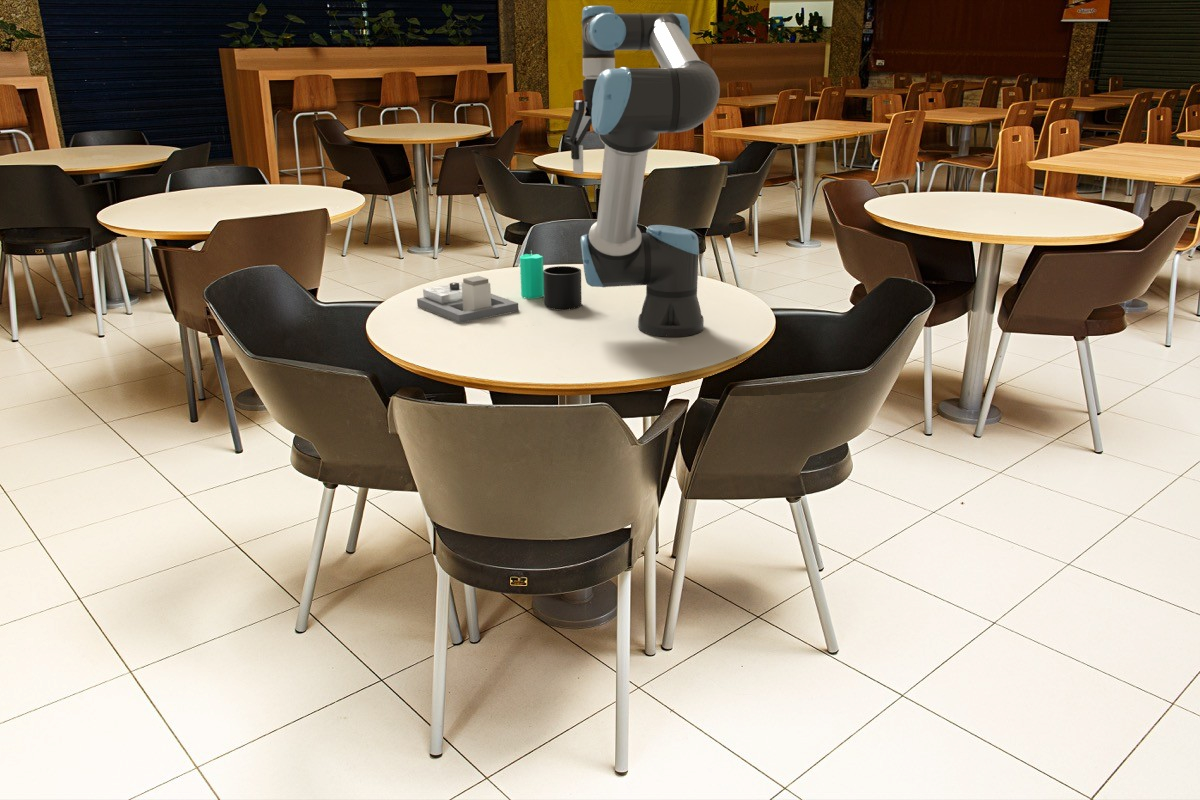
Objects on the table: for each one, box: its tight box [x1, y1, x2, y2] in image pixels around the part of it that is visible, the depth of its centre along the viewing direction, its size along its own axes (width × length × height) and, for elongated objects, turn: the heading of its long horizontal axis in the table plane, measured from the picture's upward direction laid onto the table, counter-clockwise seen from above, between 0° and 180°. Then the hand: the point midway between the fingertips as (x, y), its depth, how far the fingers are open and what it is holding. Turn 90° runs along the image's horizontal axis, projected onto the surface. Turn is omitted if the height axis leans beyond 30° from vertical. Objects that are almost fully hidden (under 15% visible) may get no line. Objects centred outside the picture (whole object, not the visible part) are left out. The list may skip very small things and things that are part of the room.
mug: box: [543, 265, 583, 311], centre depth 234 cm, size 9×12×9 cm
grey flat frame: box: [416, 293, 520, 324], centre depth 231 cm, size 20×17×2 cm
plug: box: [461, 275, 492, 312], centre depth 227 cm, size 5×5×8 cm
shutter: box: [422, 281, 463, 304], centre depth 234 cm, size 9×13×3 cm
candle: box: [519, 250, 544, 299], centre depth 241 cm, size 6×6×12 cm
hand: (599, 171), depth 223 cm, fingers open, 13 cm apart
